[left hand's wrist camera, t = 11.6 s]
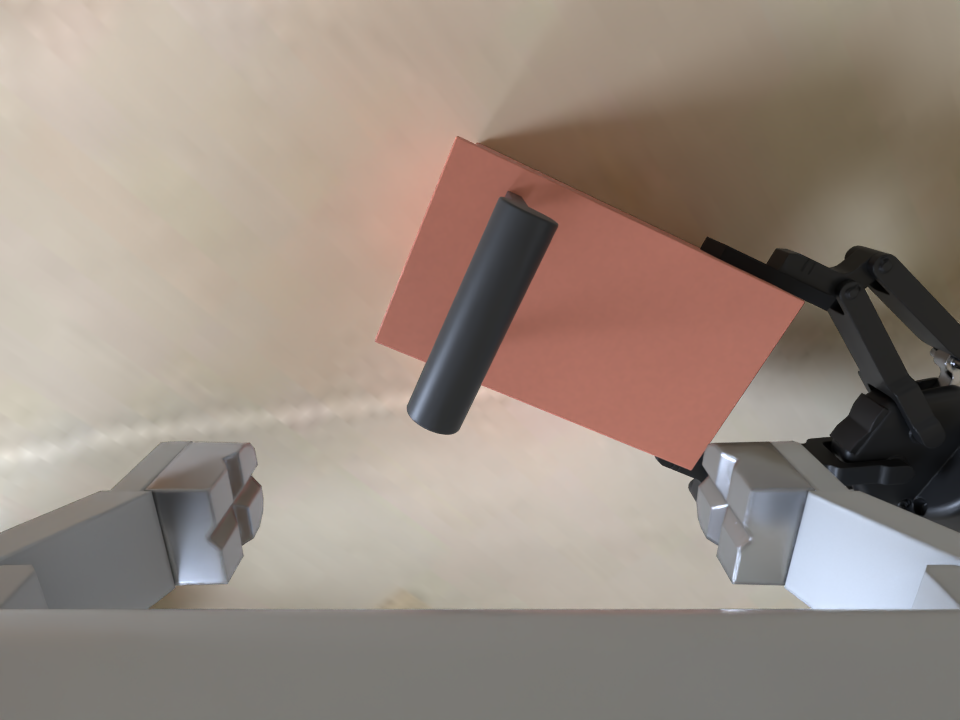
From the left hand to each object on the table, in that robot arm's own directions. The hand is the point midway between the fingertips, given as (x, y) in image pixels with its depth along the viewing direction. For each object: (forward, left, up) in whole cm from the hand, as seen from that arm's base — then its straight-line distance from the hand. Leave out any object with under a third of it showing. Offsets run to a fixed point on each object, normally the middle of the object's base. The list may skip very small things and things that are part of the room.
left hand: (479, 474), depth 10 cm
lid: (+1, -5, -17) cm, 18 cm away
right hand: (+3, -10, -20) cm, 23 cm away
